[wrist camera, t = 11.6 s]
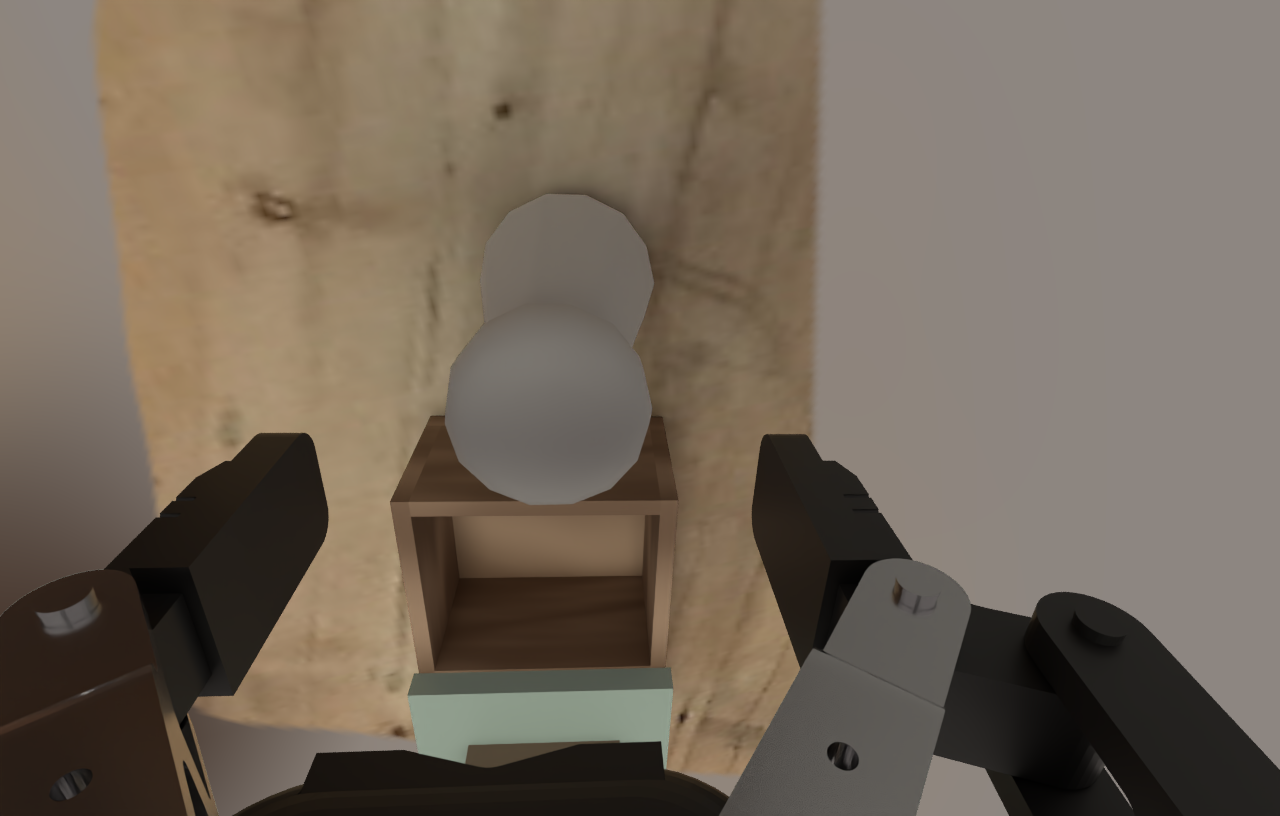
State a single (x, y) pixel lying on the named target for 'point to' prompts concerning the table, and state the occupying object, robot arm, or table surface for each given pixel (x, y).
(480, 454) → the salt shaker
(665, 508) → the box
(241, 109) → the table surface
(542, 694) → the lid
